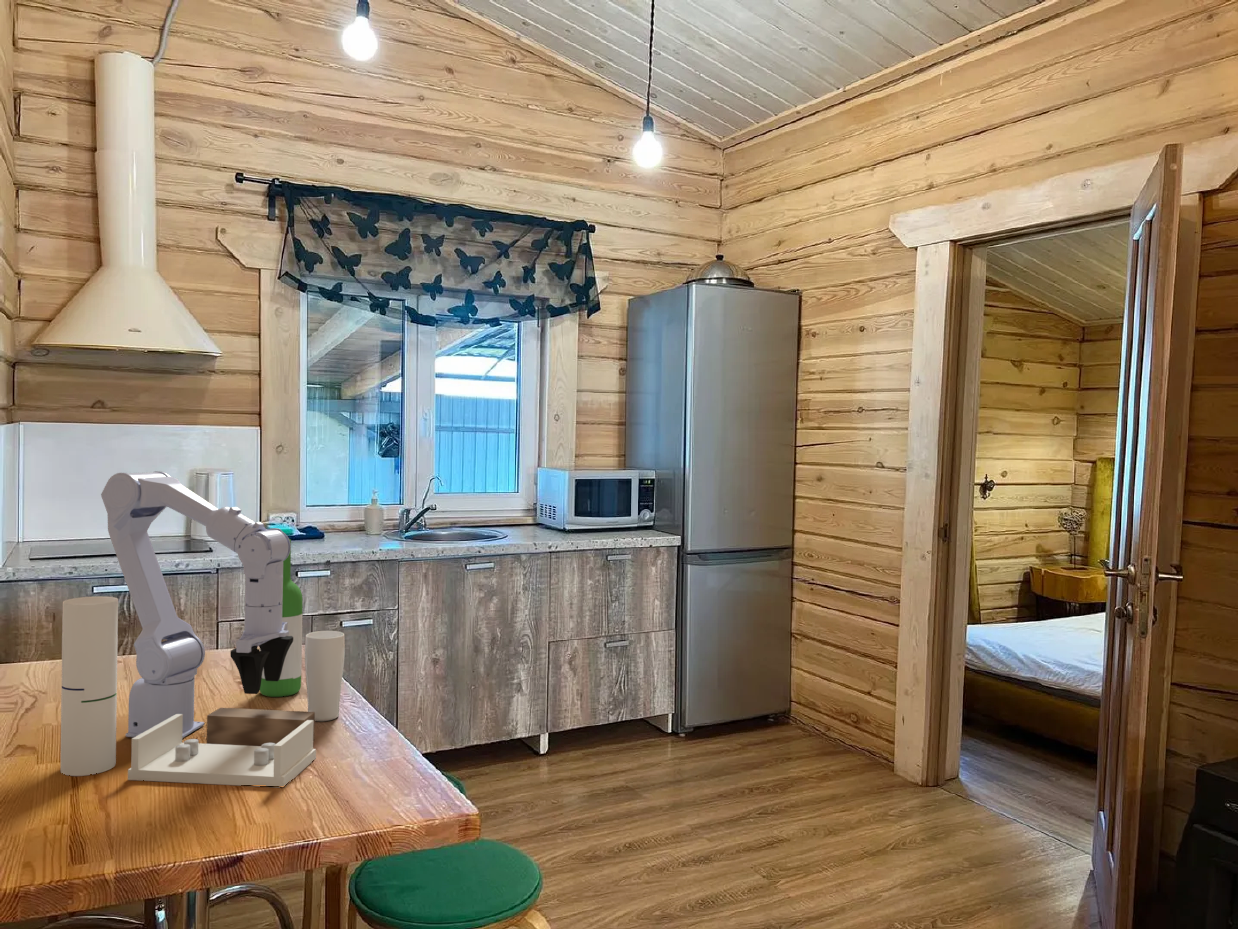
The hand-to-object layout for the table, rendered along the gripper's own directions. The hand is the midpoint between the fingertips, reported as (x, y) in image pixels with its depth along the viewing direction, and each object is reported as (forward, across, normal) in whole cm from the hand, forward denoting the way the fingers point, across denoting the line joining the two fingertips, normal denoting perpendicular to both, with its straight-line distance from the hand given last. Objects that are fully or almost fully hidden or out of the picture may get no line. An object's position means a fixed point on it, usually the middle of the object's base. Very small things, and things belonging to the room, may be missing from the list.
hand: (262, 686), depth 149 cm
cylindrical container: (+9, -14, +20) cm, 26 cm away
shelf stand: (+9, -12, 0) cm, 15 cm away
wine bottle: (+9, +28, +9) cm, 31 cm away
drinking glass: (+9, +14, -5) cm, 18 cm away
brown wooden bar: (+9, 0, 0) cm, 9 cm away
